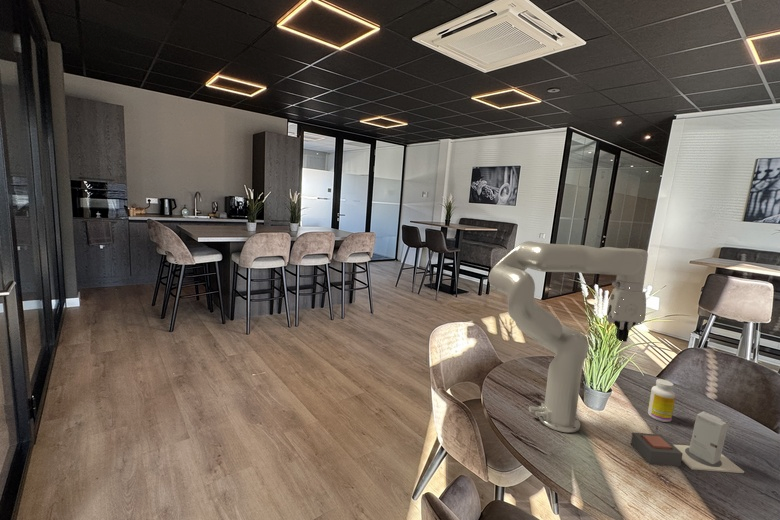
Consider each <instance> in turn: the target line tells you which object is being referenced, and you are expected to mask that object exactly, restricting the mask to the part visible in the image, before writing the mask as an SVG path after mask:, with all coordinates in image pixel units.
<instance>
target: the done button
mask: <svg viewBox="0 0 780 520" xmlns="http://www.w3.org/2000/svg"><path fill="white" fill-rule="evenodd" d="M642 438H643V439H644V440H645V441H646V442H647V443H648V444H649V445H650V446H651V447H652V448H658V449H671V446H670V445H669V444H668V443H666V442H665V441H664V440H663V439H662V438H661V437H660V436H648V435H643V437H642Z"/></svg>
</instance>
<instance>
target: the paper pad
mask: <svg viewBox="0 0 780 520" xmlns="http://www.w3.org/2000/svg"><path fill="white" fill-rule="evenodd" d="M673 445H674V446H675V447H676V448H677V449H678V450H679V451H680V452H682V453H683V454H682V460H681V462H683V463H684V464H685V465H686V466H687V467H688V469H690V470H693V471H694V470H696V471H707V472H708V471H709V472H724V473H737V474H744V473H745V471H744V470H743V469H742V468H741V467H739V466H738V465H736V464H735V463H734V462H733V461H731V460H730V458H728V457H727V456H725V455H724V454H723V453H722V454H721V458H720V461H718V462H717V463H715V464H710V463H708V462H707V461H705V460H703V459H701V458H699V457H697V456H696V455H694V454H692V453H690V452H689V448H690V445H686V444H684V445H683V444H673Z"/></svg>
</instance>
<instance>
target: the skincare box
mask: <svg viewBox="0 0 780 520" xmlns="http://www.w3.org/2000/svg"><path fill="white" fill-rule="evenodd" d="M729 424H730V422H729V421H727V420H724V419H723V418H721V417H719V416H717V415H714V414H711V413H708V412H706V411H701V412H699V413H697V414H696V416H695V422H694V425H693V430H692V435H691V439H690V444H689V446H690V448H689V452H690V453H692V454H694V455H696V456H697V457H699V458H701V459H703V460H705V461H707V462H708V463H710V464H715V463H717V462H718V461H720V458H721V454H723V449H724V446H725V445H724V444H725V442H726V438H727V437H726V436H727V433H728V429H729V428H728V427H729Z"/></svg>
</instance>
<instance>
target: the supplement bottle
mask: <svg viewBox="0 0 780 520" xmlns="http://www.w3.org/2000/svg"><path fill="white" fill-rule="evenodd" d="M673 389H674V383H673V382H671V381H669V380H667V379H662V378H659V379H658V378H657V379H656V381H655V385H653V386H652V387H651V390H650V396H649V402H648V408H647V409H648V410H647V414H648V415H649V416H650V417H651V418H652V419H654V420H656V421H658V422H661V423H671V421H672V420H673V415H674V414H673V413H674V407H675V401H676V393H675V391H673Z"/></svg>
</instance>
